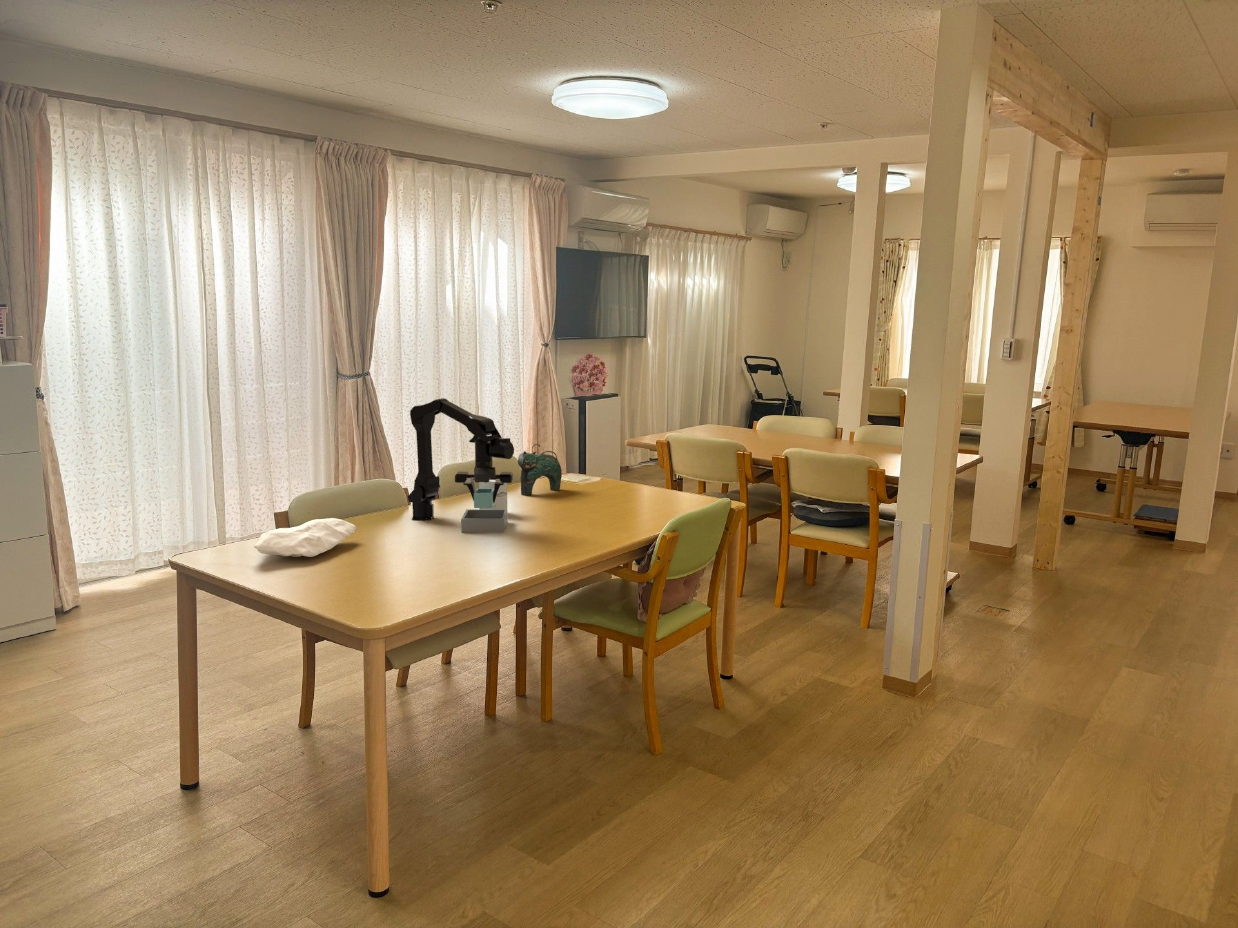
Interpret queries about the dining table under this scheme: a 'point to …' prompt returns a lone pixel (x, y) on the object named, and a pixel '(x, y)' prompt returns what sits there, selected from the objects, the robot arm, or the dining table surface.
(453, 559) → the dining table surface
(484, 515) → the grey crate
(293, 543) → the crumpled cloth
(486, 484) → the supplement box
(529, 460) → the ceramic cat
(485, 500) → the teal crate
